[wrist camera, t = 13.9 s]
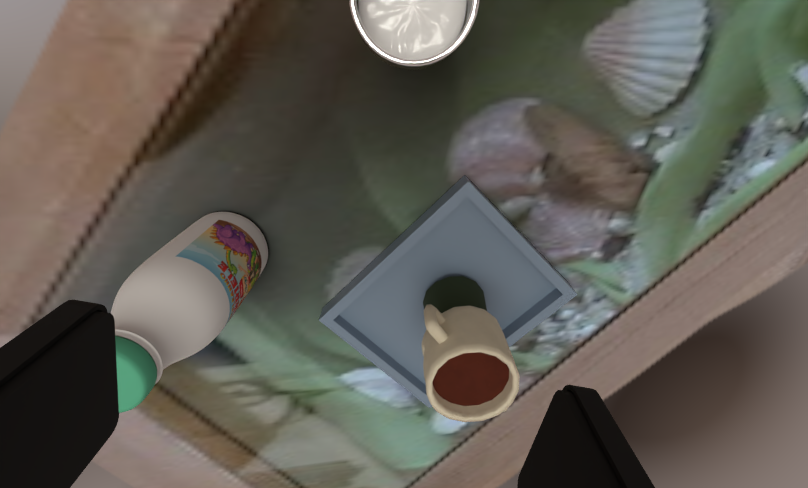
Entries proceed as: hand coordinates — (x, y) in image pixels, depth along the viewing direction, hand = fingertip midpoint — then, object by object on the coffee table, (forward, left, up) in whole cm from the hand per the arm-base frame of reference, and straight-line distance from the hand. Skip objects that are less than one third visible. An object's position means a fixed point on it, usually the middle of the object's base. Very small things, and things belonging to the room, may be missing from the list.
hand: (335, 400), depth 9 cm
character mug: (-10, +14, -32) cm, 36 cm away
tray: (-9, +14, -32) cm, 36 cm away
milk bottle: (+13, +13, -32) cm, 37 cm away
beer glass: (0, -10, -32) cm, 34 cm away
